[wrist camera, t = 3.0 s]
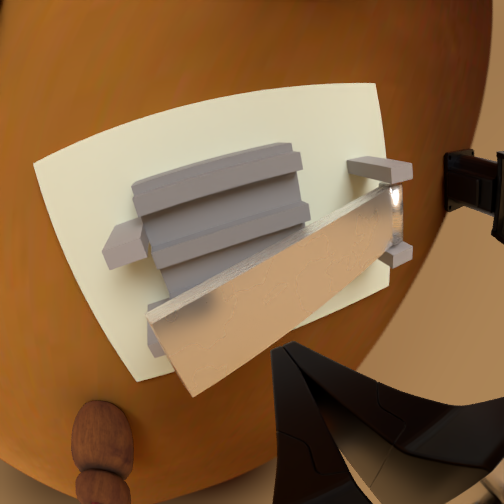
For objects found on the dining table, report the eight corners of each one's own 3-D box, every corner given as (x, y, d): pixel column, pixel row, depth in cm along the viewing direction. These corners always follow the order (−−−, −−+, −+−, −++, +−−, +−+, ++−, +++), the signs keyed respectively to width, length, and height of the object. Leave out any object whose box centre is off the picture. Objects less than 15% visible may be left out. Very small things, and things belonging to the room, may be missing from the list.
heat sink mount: (366, 84, 18) (419, 77, 13) (382, 281, 26) (421, 308, 21) (39, 162, 13) (-4, 172, 8) (136, 373, 21) (138, 425, 16)
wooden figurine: (127, 434, 24) (143, 558, 10) (76, 423, 21) (75, 548, 8) (135, 398, 22) (154, 550, 9) (76, 384, 20) (65, 537, 6)
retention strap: (385, 179, 18) (405, 182, 16) (387, 233, 19) (406, 237, 18) (141, 309, 9) (155, 329, 8) (180, 381, 11) (197, 403, 10)
